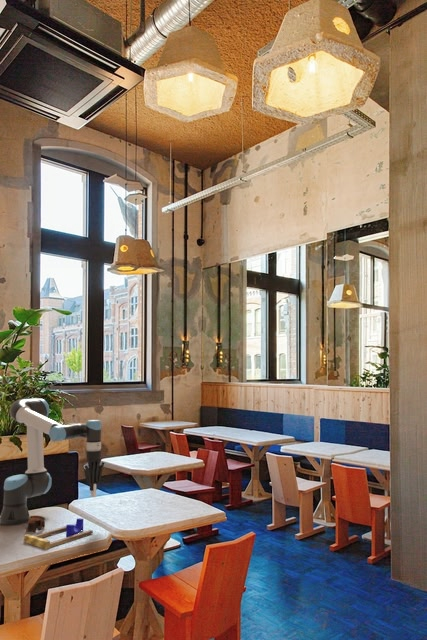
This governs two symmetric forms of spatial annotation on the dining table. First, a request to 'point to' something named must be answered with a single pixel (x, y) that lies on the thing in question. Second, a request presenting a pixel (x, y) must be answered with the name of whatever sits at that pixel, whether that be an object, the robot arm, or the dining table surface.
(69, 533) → the cable clip
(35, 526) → the pottery mug
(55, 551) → the dining table surface
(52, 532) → the guide lane
